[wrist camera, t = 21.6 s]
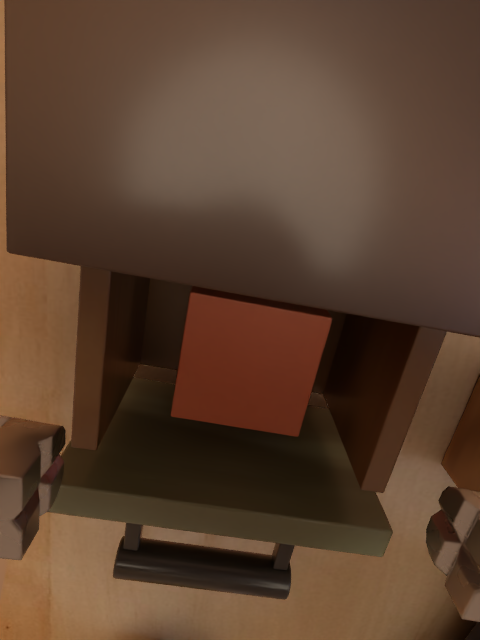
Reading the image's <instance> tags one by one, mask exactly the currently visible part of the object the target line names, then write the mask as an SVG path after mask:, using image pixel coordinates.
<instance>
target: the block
mask: <svg viewBox="0 0 480 640" xmlns="http://www.w3.org/2000/svg"><path fill="white" fill-rule="evenodd" d="M331 323H332V317H331V315H330V314H329V312H328V311H327V310H324V309H319V308H313V307H307V306H302V305H296V304H291V303H285V302H280V301H274V300H268V299H263V298H257V297H252V296H246V295H240V294H235V293H229V292H224V291H218V290H213V289H207V288H201V287H196V286H192V289H191V291H190V295H189V302H188V308H187V314H186V321H185V327H184V333H183V339H182V346H181V352H180V358H179V365H178V371H177V377H176V383H175V390H174V396H173V402H172V408H171V416H172V417H177V418H183V419H189V420H196V421H202V422H208V423H214V424H221V425H227V426H233V427H239V428H245V429H252V430H258V431H264V432H270V433H277V434H283V435H289V436H295V437H298V436H299V433H300V429H301V426H302V422H303V419H304V416H305V412H306V409H307V405H308V402H309V398H310V395H311V392H312V388H313V385H314V381H315V378H316V374H317V371H318V368H319V364H320V361H321V357H322V354H323V350H324V347H325V344H326V340H327V337H328V333H329V330H330V326H331Z"/></svg>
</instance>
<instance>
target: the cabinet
mask: <svg viewBox="0 0 480 640" xmlns="http://www.w3.org/2000/svg"><path fill="white" fill-rule="evenodd" d="M5 110H6V227H7V252H9V253H12V254H17V255H23V256H28V257H34V258H39V259H45V260H51V261H56V262H62V263H67V264H73V265H79V266H84V267H90V268H95V269H101V270H106V271H112V272H118V273H123V274H129V275H134V276H140V277H146V278H151V279H157V280H162V281H168V282H173V283H179V284H185V285H190V286H196V287H201V288H207V289H213V290H218V291H224V292H229V293H235V294H240V295H246V296H252V297H257V298H263V299H268V300H274V301H280V302H285V303H291V304H296V305H302V306H307V307H313V308H319V309H324V310H330V311H335V312H341V313H346V314H352V315H358V316H363V317H369V318H374V319H380V320H386V321H391V322H397V323H402V324H408V325H413V326H419V327H425V328H430V329H436V330H441V331H447V332H453V333H458V334H464V335H469V336H475V337H480V0H5Z"/></svg>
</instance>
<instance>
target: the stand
mask: <svg viewBox="0 0 480 640" xmlns="http://www.w3.org/2000/svg"><path fill="white" fill-rule="evenodd" d="M441 464H442V466H443V467H444V469H445V470H446V471H447V473H448V474H449V476H450V477H451V479H452V480H453V481H454V483H455V484H456V486H457V487H458V488H462V489H469V490H476V491H480V377H479V379H478V381H477V383H476V386H475V388H474V390H473V393H472V395H471V397H470V399H469V402H468V404H467V406H466V408H465V411H464V413H463V415H462V418H461V420H460V422H459V424H458V427H457V429H456V431H455V434H454V436H453V438H452V440H451V443H450V445H449V447H448V449H447V452H446V454H445V456H444V459H443V461H442V463H441Z"/></svg>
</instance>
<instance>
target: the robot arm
mask: <svg viewBox="0 0 480 640" xmlns="http://www.w3.org/2000/svg"><path fill="white" fill-rule="evenodd" d="M64 445H65V429H64V427H63V426H59V425H53V424H47V423H42V422H36V421H31V420H25V419H19V418H11V417H7V416H1V415H0V558H3V559H13V560H22V558H23V556H24V554H25V553H26V551H27V549H28V547H29V546H30V544H31V542H32V540H33V539H34V537H35V535H36V533H37V532H38V530H39V516H41V515H43V514H44V513H46V512H48V511H49V510H50V509H51V507H52V505H53V503H54V501H55V499H56V497H57V494H58V492H59V489H60V486H61V483H62V478H63V473H64V461H63V459H62V458H61V456H60V455H59V453H60V451H61V450H62V448H63V447H64ZM438 501H439V504H440V507H441V509H442V510H440V511H439V512H437V513H436V514H434V515H433V516H431V518H430V521H429V524H428V526H427V529H426V543H427V547H428V551H429V554H430V556H431V559H432V561H433V563H434V565H435V566H436V567H438V568H439V569H440V570H441V571H442V572H443V573H444V574H445V575H446V576H447V577H446V582H445V587H446V589H447V591H448V593H449V595H450V597H451V598H452V600H453V602H454V604H455V606H456V608H457V610H458V612H459V614H460V616H461V618H462V619H465V620H471V621H477V622H480V491H476V490H469V489H462V488H456V487H447V488H446V489H445V490H444V491H443V492H442V494H441V496H440V498H439V500H438Z"/></svg>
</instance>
